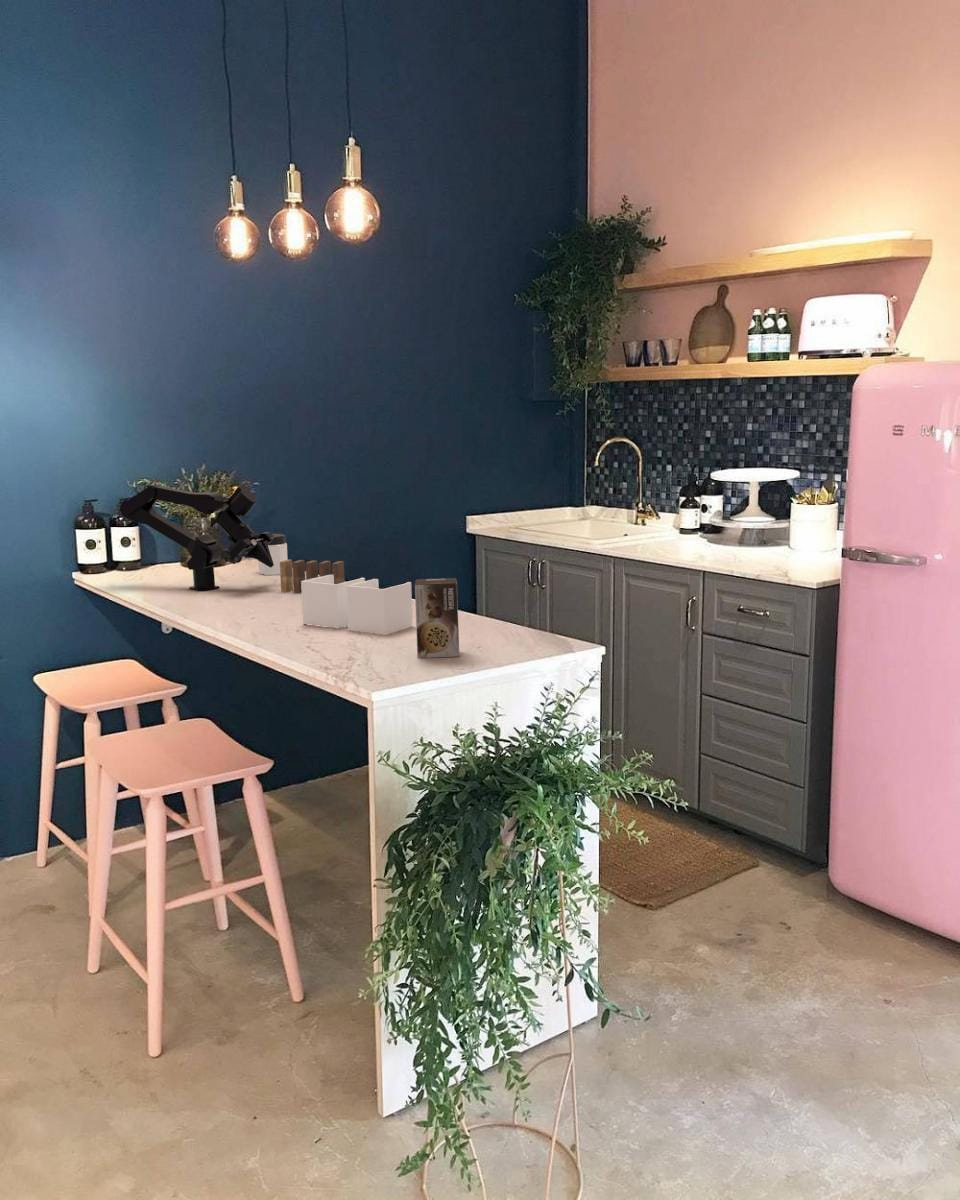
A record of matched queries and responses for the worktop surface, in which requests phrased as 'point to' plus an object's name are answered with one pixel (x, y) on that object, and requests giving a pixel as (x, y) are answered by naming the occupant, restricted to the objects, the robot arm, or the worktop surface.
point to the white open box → (356, 605)
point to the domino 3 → (311, 569)
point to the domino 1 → (286, 575)
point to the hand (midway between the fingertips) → (272, 566)
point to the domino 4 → (324, 568)
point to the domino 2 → (298, 575)
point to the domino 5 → (338, 572)
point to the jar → (275, 555)
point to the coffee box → (437, 618)
